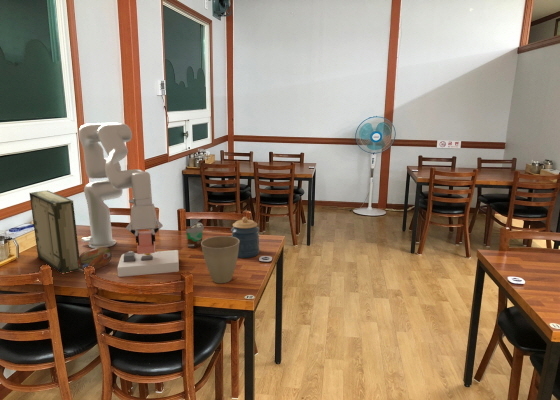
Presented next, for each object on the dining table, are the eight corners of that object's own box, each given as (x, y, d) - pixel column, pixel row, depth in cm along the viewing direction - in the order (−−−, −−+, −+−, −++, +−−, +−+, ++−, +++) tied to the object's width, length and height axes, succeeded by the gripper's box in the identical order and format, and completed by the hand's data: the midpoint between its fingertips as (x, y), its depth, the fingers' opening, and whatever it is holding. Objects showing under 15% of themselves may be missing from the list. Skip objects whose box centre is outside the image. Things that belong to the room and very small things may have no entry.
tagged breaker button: (142, 269, 186) (141, 259, 185) (142, 265, 190) (142, 255, 188) (152, 268, 187) (151, 258, 186) (152, 264, 190) (151, 255, 189)
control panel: (80, 269, 186) (73, 200, 179) (62, 274, 181) (53, 203, 174) (55, 252, 206) (47, 190, 200) (38, 256, 201) (29, 192, 195)
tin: (82, 274, 181) (80, 254, 179) (77, 272, 183) (75, 253, 181) (113, 263, 193) (111, 244, 192) (108, 261, 195) (106, 243, 193)
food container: (199, 249, 210) (198, 229, 208) (186, 248, 212) (185, 228, 209) (208, 241, 222) (207, 222, 220) (196, 240, 223) (195, 221, 221)
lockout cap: (137, 254, 182) (135, 235, 181) (138, 249, 189) (137, 231, 187) (154, 252, 184) (153, 234, 182) (155, 247, 190) (153, 230, 189)
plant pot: (212, 270, 184) (211, 234, 180) (245, 274, 180) (245, 237, 176) (196, 285, 170) (194, 245, 166) (231, 289, 166) (230, 249, 162)
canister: (225, 253, 204) (224, 217, 200) (246, 247, 213) (245, 211, 209) (244, 260, 195) (244, 222, 192) (265, 253, 205) (264, 216, 201)
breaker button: (124, 266, 184) (123, 256, 183) (125, 263, 188) (124, 253, 187) (134, 265, 185) (133, 255, 184) (135, 262, 188) (134, 252, 187)
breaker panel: (118, 276, 178) (116, 263, 177) (122, 262, 193) (121, 250, 192) (178, 271, 183) (178, 258, 182) (178, 258, 199) (177, 246, 197)
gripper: (119, 204, 176) (123, 248, 180) (163, 202, 180) (166, 244, 184) (121, 201, 183) (125, 242, 187) (164, 198, 187) (166, 239, 191)
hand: (145, 243), depth 186 cm, fingers closed on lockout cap, 5 cm apart
